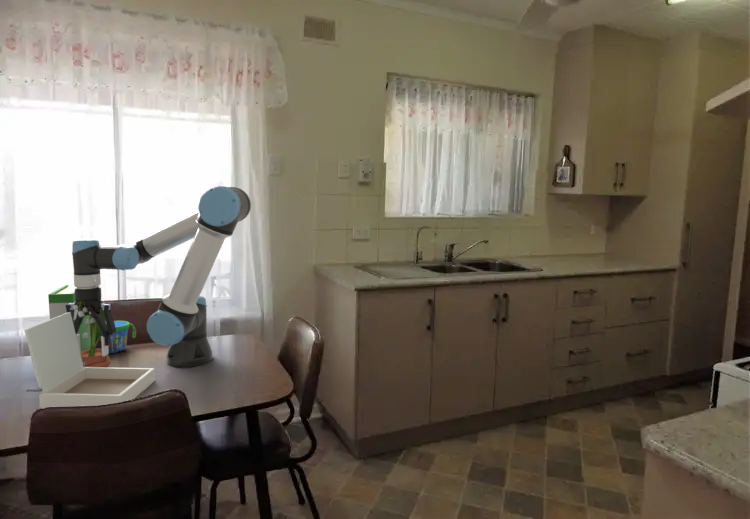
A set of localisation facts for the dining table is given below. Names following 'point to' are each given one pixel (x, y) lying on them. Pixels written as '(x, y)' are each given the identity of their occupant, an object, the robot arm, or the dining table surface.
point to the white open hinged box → (77, 369)
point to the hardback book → (58, 308)
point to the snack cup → (119, 336)
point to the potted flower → (93, 342)
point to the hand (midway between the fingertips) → (91, 354)
